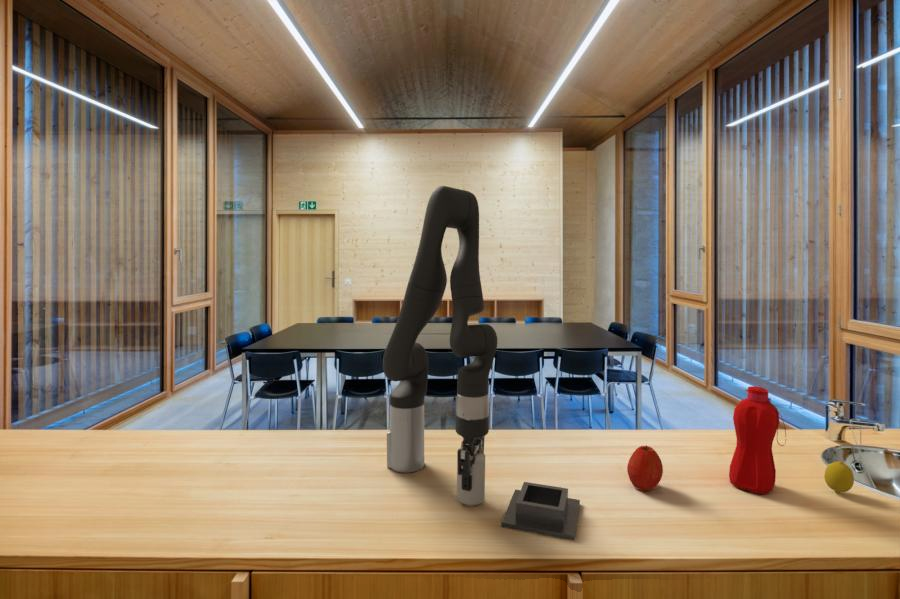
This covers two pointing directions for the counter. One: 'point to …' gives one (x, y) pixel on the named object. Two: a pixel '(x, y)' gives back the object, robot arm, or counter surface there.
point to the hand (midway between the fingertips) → (471, 482)
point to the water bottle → (754, 442)
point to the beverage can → (473, 482)
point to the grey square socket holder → (542, 511)
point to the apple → (645, 468)
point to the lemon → (839, 477)
